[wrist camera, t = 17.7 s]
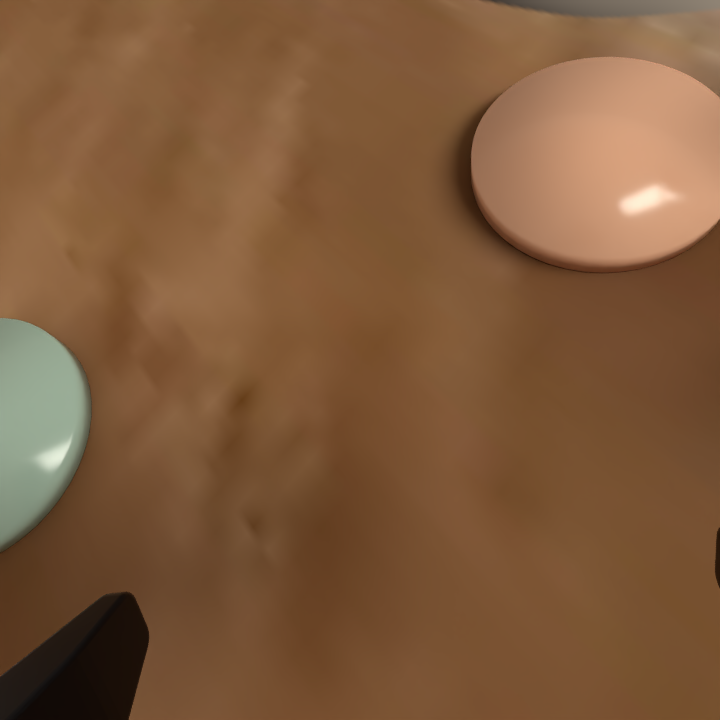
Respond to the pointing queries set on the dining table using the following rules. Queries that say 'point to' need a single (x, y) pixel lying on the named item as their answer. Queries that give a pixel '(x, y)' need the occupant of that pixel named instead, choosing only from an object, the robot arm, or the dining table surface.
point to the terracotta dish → (600, 164)
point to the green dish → (37, 425)
